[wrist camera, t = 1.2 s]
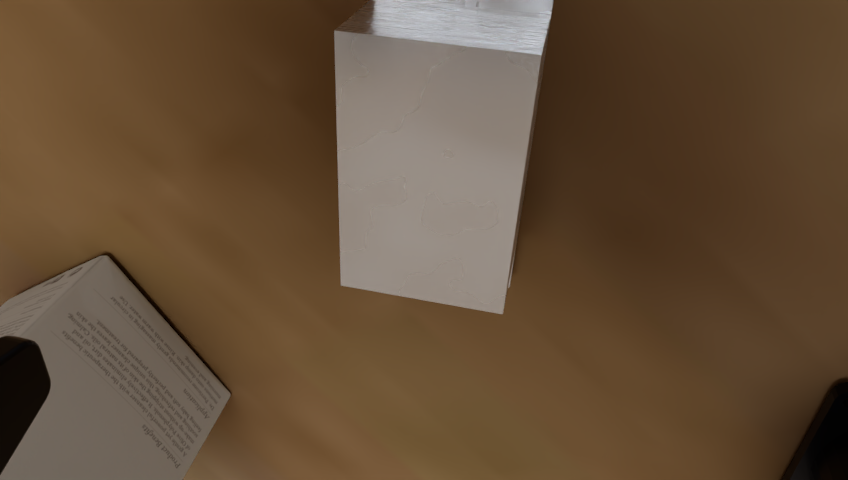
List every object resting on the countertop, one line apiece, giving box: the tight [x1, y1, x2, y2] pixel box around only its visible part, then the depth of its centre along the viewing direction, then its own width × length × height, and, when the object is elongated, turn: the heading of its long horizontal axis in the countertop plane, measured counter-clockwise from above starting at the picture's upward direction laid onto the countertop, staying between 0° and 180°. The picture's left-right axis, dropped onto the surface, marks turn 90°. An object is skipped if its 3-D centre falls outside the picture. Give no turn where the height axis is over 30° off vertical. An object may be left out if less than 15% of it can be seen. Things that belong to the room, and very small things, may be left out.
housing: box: [334, 0, 554, 314], centre depth 18 cm, size 10×4×4 cm, turn 177°
